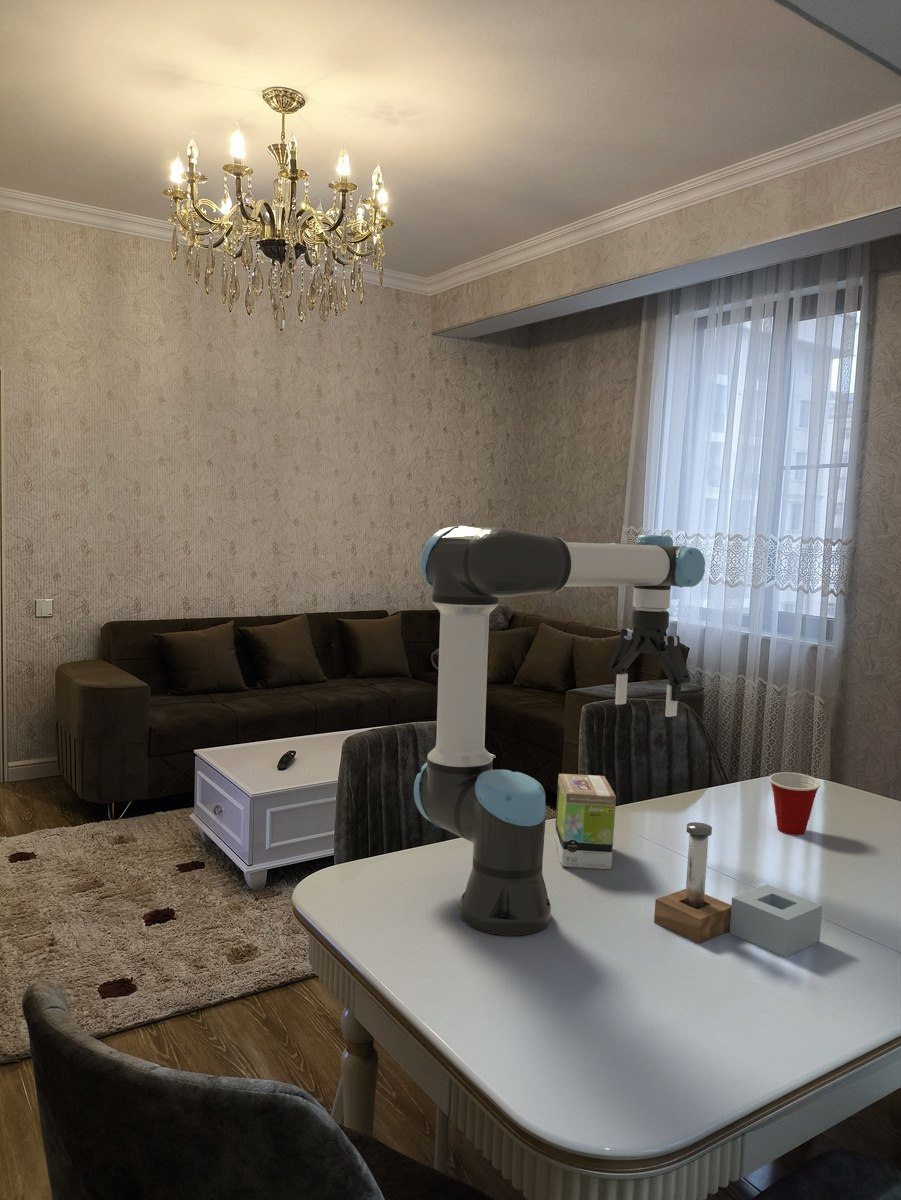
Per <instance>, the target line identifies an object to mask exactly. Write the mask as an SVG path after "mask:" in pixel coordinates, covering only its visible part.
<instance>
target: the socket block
mask: <svg viewBox="0 0 901 1200" xmlns="http://www.w3.org/2000/svg"><path fill="white" fill-rule="evenodd" d="M731 905H732V906H731V921H730V931H729V934H730V935H733V936H735V937H738V938H740V939H743V940H744V941H747V942H749V943H752V944H753V945H756V946H758V947H760V948H762V949H765V950H767V951H770V952H772V953H774V954H776V955H777V956H778V955H779V956H780V957H783V958H787V957H790V956H792V955H794V954H796V953H798V952H800V951H802V950H804V949H806V948H808V947H810V946H813V945H815V944H817V943H819V942H820V940H821V928H822V915H823V913H822V912H823V905H822V904H819V903H817V902H814V901H811V900H809V899H806V898H804V897H801V896H798V895H795V894H794V893H791V892H788V891H785V890H782V889H780V888H777V887H775V886H772V885H770V884H765V885H762V886H759V887H756V888H754V889H750V890H749V891H745V892H743V893H740V894H738V895H735V896H732V897H731Z"/></svg>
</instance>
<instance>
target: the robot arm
mask: <svg viewBox="0 0 901 1200" xmlns="http://www.w3.org/2000/svg"><path fill="white" fill-rule="evenodd" d="M420 557H421V558H420V571H421V575H422V577H423V579H424V580H425V581H426V583H427V585H428V586H429V587H431V588H432V590H431V591H432V594H431V603H432V605H434V606H435V608H436V609H437V611H438V612H439V615H440V616H439V617H440V619H439V644H438V645H439V648H438V649H439V650H438V676H437V677H438V678H437V706H436V710H437V711H436V736H435V737H436V740H435V741H436V743H435V746H434V747H433V749H432V750H430V751H429V752H428V753H427V758H426V761H427V762H425V763H424V764H423V765H422V766H421V768H420V770H421V771H420V772H418V773H417V774H416V777H415V780H414V786H413V797H414V803H415V805H416V807H417V809H418V811H419V812H420V814H421V815H422V816H423V817H424V818H425V819H426V820H427V821H429V822H430V823H432V824H434V825H435V827H437V828H438V829H442V830H446V831H448V832H450V833H452V834H454V835H457V837H460V838H462V839H465V840H466V841H469V842H471V843H473V845H472V846H473V848H472V868H471V871H470V873H469V874H470V875H469V878H468V880H467V884H466V887H465V891H464V892H463V893H462V895H461V898H460V904H459V906H460V907H459V911H460V912H459V915H460V918H461V920H462V921H463V922H464V923H465V924H467V925H468V926H469V927H472V928H474V929H475V930H477V931H478V930H479V931H481V932H483V933H488V934H493V935H499V936H524V935H525V936H526V935H530V934H534V933H538V932H540V931H542V930H544V929H545V928H546V927H548V926H549V924H550V922H551V918H552V917H551V915H552V914H551V912H552V910H551V909H552V905H551V901H550V899H549V896H548V890H547V888H546V884H545V879H544V875H543V864H544V863H543V861H544V845H545V830H546V818H547V817H546V816H547V806H546V793H545V789H544V787H543V785H542V784H541V783H540V782H539V781H537V779H535V778H533V777H531V775H530V776H529V775H527V774H525V773H523V772H520V771H512V770H510V769H509V770H508V769H493V760H494V759H493V756H492V754H491V753H490V752H489V751H488V750H487V749H486V747H485V743H486V742H485V739H486V738H485V737H486V715H487V713H486V712H487V709H486V708H487V689H488V688H487V685H488V683H487V682H488V681H487V680H488V658H489V633H490V632H489V630H490V629H489V627H490V614H491V613H492V612H493V611H494V610H495V609H496V608H497V607H498V606H499V598H507V597H508V598H509V597H519V596H526V595H536V594H554V593H557V592H560V591H562V590H563V589H564V588H565V587H566V588H567V587H568V588H569V587H571V588H572V587H624V586H625V587H630V586H631V587H633V597H632V606H633V607H634V608H635V609H633V610H632V615H631V626H632V627H633V629H632V628H622V629H621V630H620V636H619V639H618V642H617V644H616V646H615V649H614V650H613V652H612V655H611V657H610V658H609V660H608V661H609V662H607V663H608V664H607V669H609V670H611V671H612V672H613V674H614V679H613V680H614V682H613V687H614V688H615V698H614V699H615V700H614V705H625V704H627V698H628V697H627V696H628V679H629V678H628V677H629V674H628V673H627V670H628V669H629V667H630V666H631V665H632V663H633V662H634V661H635V660H636V658H637V657H639V655H640V654H647V655H650V656H651V655H652V656H653V657H654V658H655V659H657V661H658V663H659V665H660V666H661V668H662V670H663V672H664V674H665V676H666V677H667V679H668V681H669V683H668V684H666V695H665V698H666V699H665V711H664V714H665V715H664V716H665V717H668V718H671V717H677V715H678V702H679V701H680V700H681V698H682V697H681V693H682V685H684V684H689V683H691V678H690V674H689V671H688V668H687V664H686V662H685V659H684V655H683V652H682V650H681V641H680V638H681V637H680V636H679V635H668V634H667V631H668V628H669V625H670V612H669V611H667V610H668V609H670V606H671V591H672V587H678V588H693V587H695V586H697V585H698V584H700V582H701V581H702V580H703V578H704V576H705V571H706V570H705V569H706V568H705V567H706V561H705V557H704V554H703V552H701V550H700V549H699V548H696V547H692V546H686V545H674V540H673V538H672V537H671V536H669V535H657V534H656V535H655V534H654V535H653V534H640V535H639V534H638V536H637V537H636V543H619V542H609V543H607V542H606V543H599V542H596V543H595V542H594V543H593V542H572V541H571V542H569V541H568V542H566V541H565V540H564V539H562V538H561V537H560V536H556V535H546V534H537V533H532V532H527V531H522V530H517V529H512V528H506V527H488V526H471V525H464V524H462V525H456V526H455V525H454V526H449V527H444V528H442V529H439V530H438V531H436V532H434V534H433V535H432V536H431V537H430V538H429V539H428V540H427V542H426V543H425V545H424V547H423V549H422V552H421V556H420ZM632 640H633V642H632ZM631 642H632V644H631ZM630 644H631V645H630Z"/></svg>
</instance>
